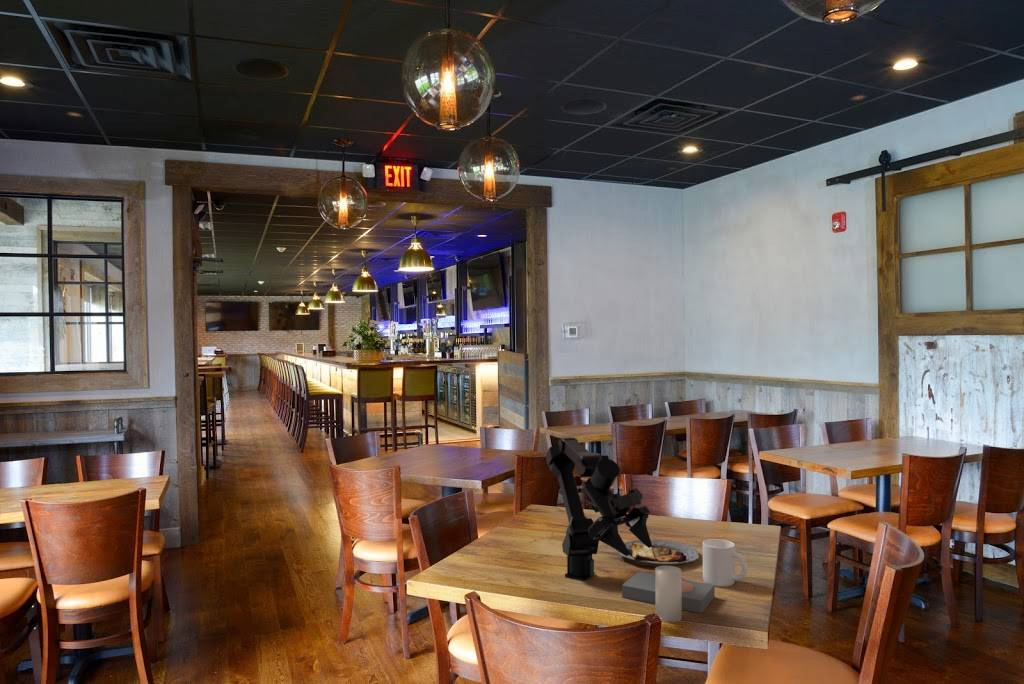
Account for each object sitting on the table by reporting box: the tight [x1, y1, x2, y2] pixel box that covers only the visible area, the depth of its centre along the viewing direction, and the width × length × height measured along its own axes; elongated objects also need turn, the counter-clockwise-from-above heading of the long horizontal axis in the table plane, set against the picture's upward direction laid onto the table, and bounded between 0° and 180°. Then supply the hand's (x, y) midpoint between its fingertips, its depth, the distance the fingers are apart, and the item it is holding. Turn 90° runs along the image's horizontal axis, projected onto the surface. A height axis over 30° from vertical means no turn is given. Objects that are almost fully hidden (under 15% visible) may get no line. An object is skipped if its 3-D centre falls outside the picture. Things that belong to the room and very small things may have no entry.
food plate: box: [617, 538, 699, 566], centre depth 203 cm, size 25×23×4 cm
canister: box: [654, 565, 683, 623], centre depth 158 cm, size 6×6×11 cm
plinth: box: [621, 571, 716, 614], centre depth 170 cm, size 20×12×3 cm, turn 59°
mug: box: [702, 538, 748, 588], centre depth 180 cm, size 12×8×10 cm
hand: (639, 550), depth 164 cm, fingers open, 9 cm apart
